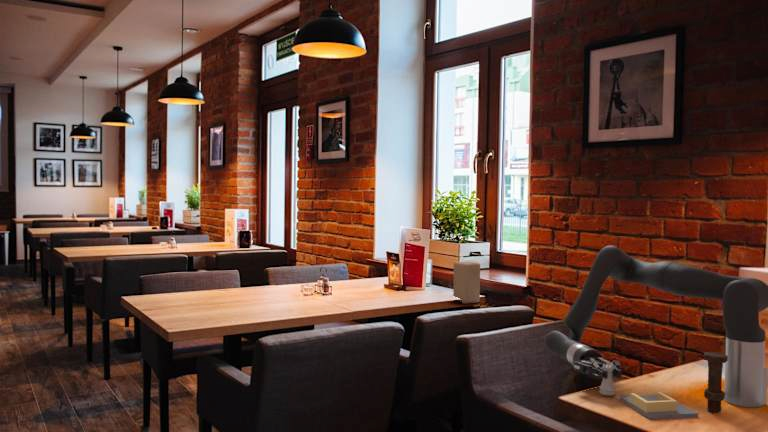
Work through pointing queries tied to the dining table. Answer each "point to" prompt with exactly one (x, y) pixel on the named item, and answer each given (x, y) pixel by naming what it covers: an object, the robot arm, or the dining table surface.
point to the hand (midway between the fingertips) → (612, 374)
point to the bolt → (714, 380)
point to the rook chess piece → (607, 382)
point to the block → (467, 281)
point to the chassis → (657, 406)
